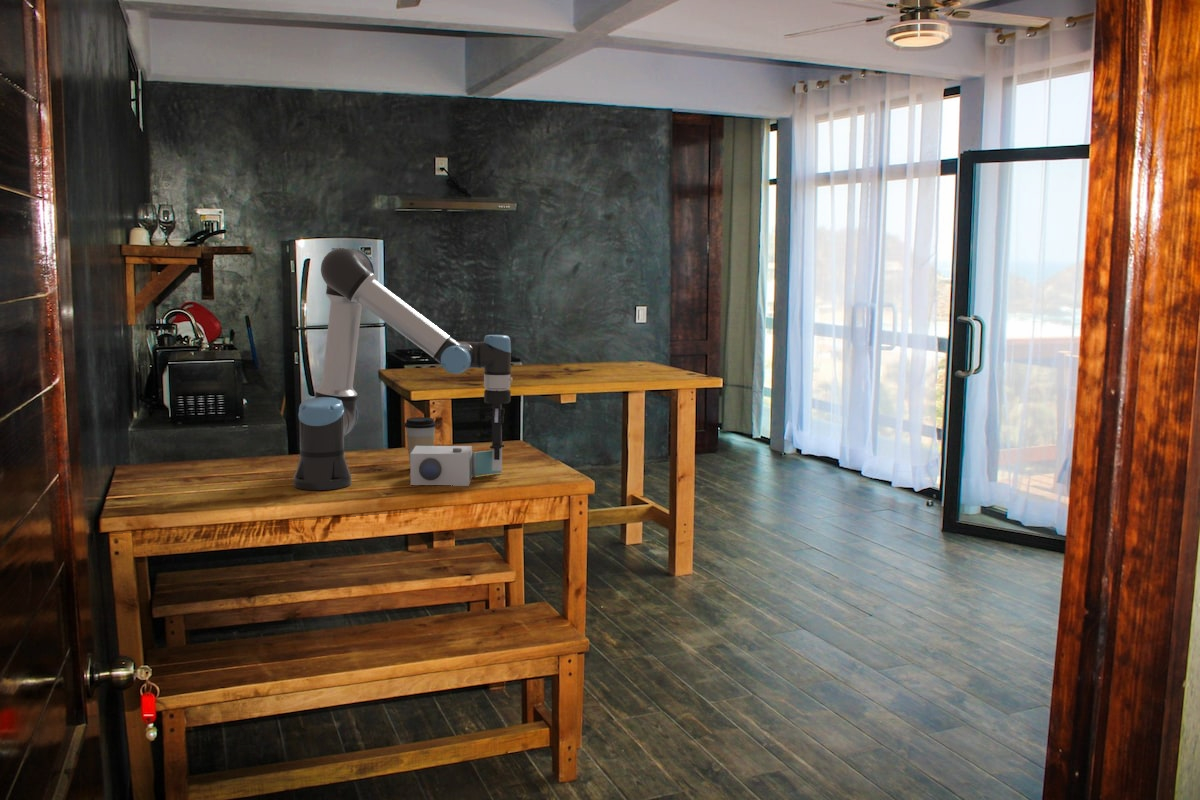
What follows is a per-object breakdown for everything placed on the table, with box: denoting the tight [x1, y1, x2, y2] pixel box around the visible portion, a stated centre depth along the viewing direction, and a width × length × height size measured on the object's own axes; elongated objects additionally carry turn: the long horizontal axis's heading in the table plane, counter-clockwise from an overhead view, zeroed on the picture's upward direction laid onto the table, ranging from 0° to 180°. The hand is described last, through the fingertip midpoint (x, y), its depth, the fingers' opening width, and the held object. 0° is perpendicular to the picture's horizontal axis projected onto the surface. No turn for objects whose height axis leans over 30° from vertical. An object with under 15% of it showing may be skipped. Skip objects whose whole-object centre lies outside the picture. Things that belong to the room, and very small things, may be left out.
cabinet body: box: [409, 445, 473, 487], centre depth 276 cm, size 16×13×10 cm
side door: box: [472, 450, 503, 478], centre depth 285 cm, size 10×2×7 cm, turn 126°
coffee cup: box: [403, 416, 437, 460], centre depth 293 cm, size 9×9×15 cm
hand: (497, 470), depth 284 cm, fingers closed
